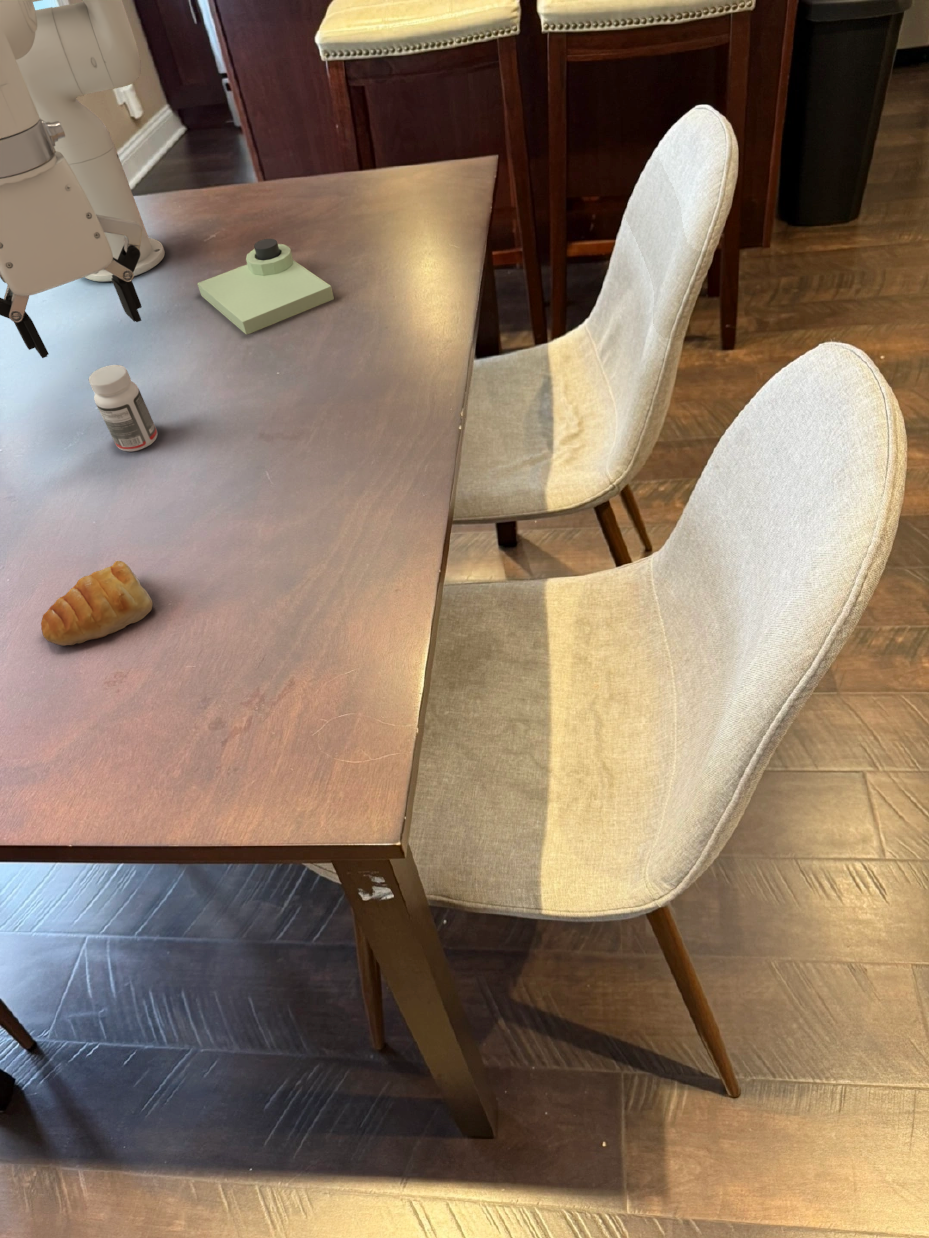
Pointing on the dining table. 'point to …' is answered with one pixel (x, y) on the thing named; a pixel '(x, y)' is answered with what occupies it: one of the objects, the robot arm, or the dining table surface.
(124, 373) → the pill bottle
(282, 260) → the green button base
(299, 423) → the dining table surface
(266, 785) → the dining table surface
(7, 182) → the robot arm
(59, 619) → the pastry
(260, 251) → the button
